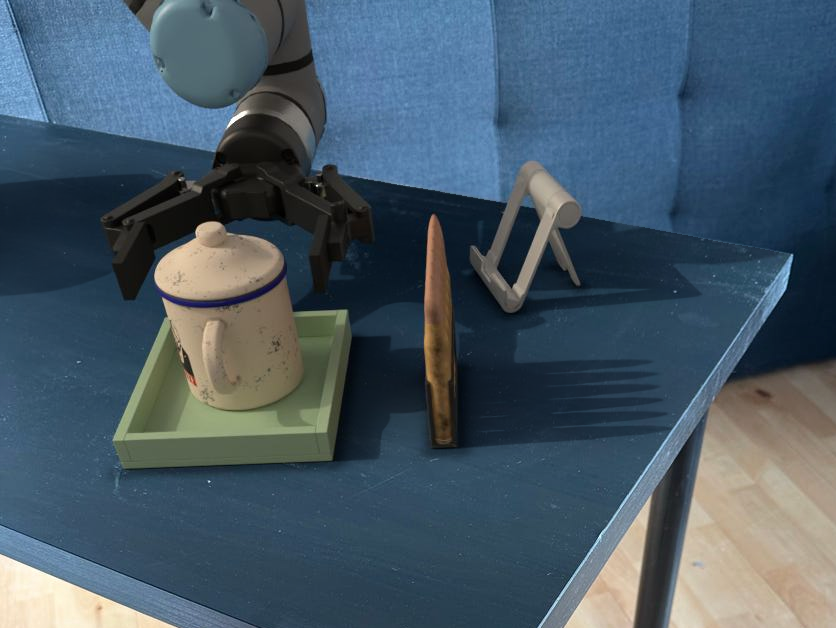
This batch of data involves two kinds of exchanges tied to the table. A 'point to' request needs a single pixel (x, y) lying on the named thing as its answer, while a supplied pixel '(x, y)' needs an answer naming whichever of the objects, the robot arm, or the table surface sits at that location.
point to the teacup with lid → (231, 318)
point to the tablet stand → (553, 213)
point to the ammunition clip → (440, 345)
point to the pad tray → (238, 429)
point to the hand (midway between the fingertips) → (219, 278)
